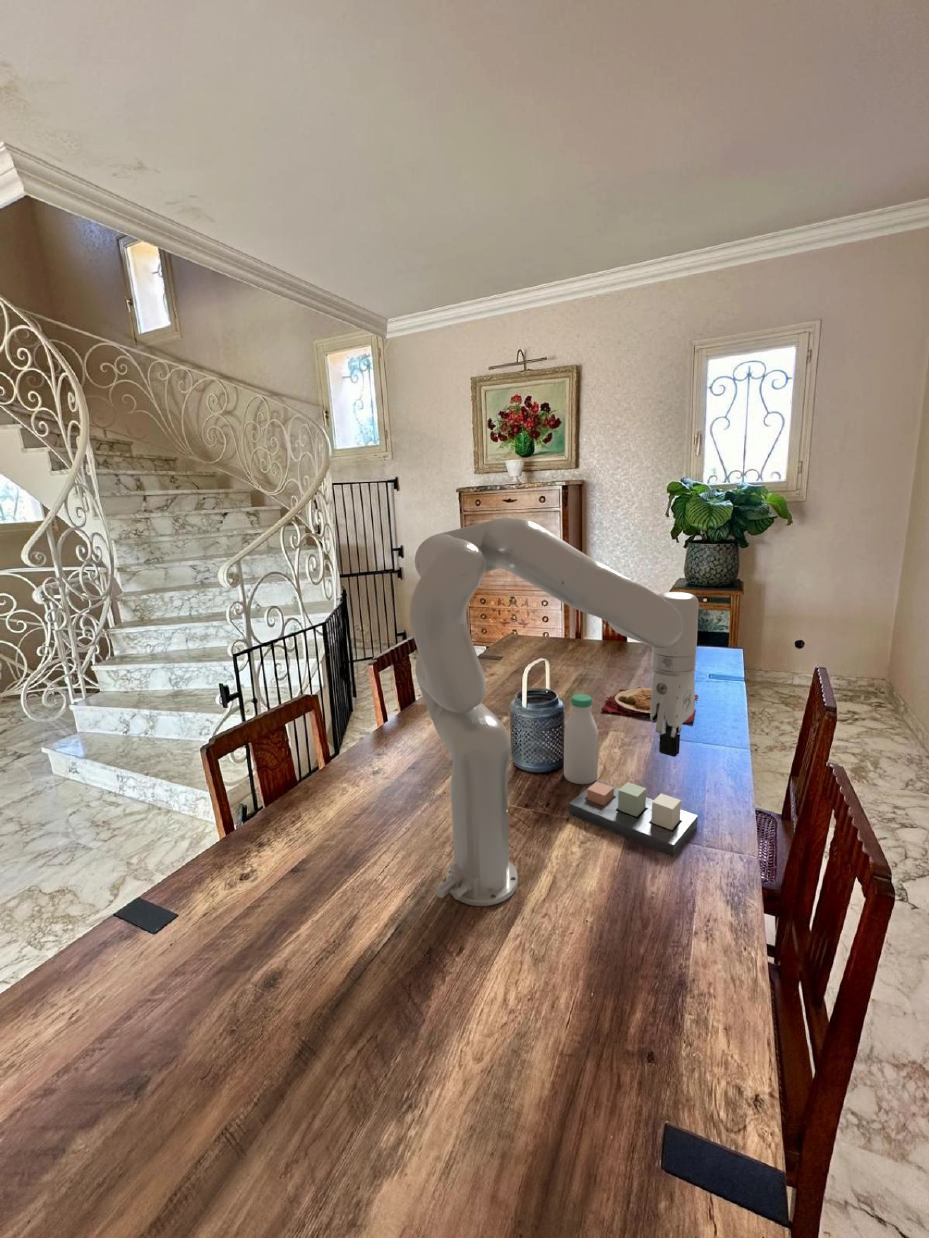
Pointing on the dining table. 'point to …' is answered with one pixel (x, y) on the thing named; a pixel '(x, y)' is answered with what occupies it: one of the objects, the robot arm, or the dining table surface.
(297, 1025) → the dining table surface
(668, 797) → the ivory key
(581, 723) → the milk bottle
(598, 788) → the terracotta key
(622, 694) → the plate with food
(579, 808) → the panel
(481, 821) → the robot arm
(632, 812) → the sage key
